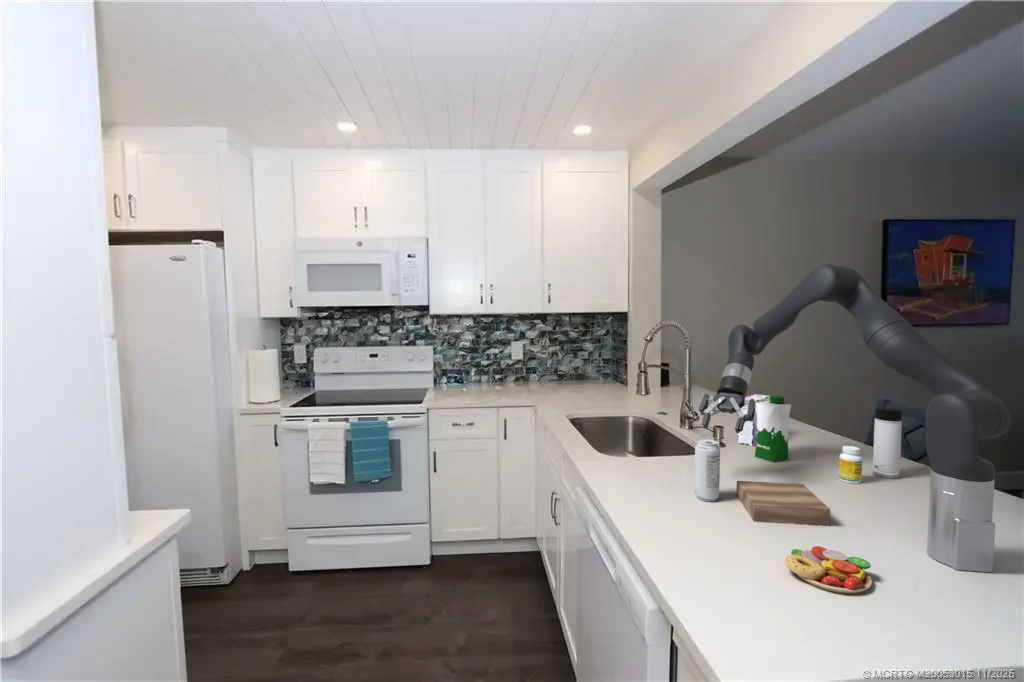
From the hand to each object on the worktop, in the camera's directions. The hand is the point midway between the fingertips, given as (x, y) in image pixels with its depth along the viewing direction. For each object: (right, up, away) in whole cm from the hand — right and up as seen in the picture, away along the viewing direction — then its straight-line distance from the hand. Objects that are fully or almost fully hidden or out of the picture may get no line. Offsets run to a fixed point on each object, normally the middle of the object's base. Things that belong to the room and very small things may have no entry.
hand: (720, 429), depth 136 cm
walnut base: (+8, -17, -14) cm, 24 cm away
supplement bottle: (+38, -16, +4) cm, 42 cm away
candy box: (+31, -13, +45) cm, 56 cm away
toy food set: (+2, -20, -43) cm, 48 cm away
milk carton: (+27, -14, +26) cm, 40 cm away
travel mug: (+51, -15, +8) cm, 54 cm away
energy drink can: (-6, -17, -6) cm, 19 cm away
